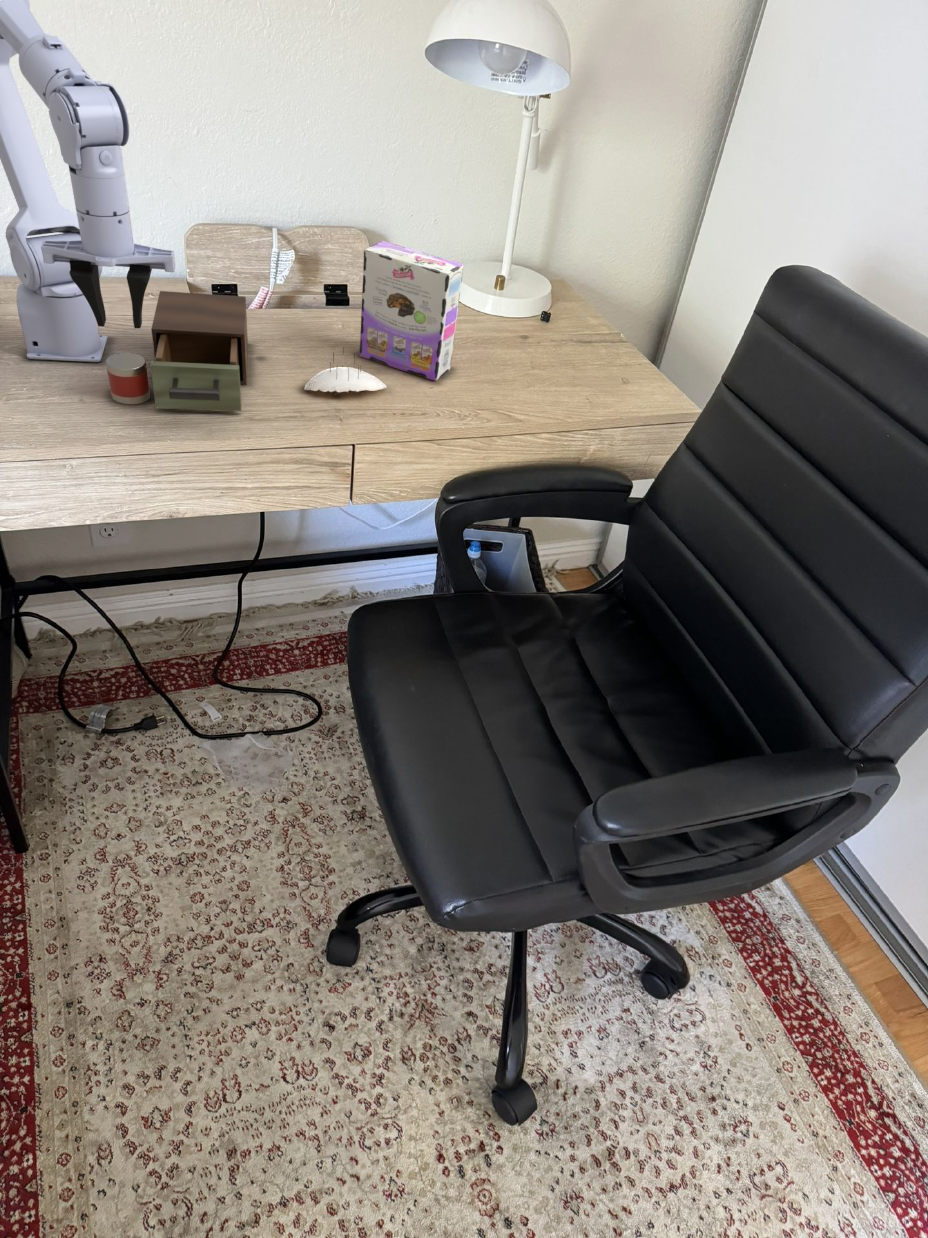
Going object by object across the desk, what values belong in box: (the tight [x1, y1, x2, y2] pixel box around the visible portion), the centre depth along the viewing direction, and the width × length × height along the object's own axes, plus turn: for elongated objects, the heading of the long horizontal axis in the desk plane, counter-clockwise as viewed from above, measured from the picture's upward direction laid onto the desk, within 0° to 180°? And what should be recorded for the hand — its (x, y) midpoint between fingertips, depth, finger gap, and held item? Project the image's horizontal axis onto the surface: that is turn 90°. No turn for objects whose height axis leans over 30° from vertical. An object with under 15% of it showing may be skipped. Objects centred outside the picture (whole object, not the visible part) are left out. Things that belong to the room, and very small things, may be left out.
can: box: [105, 352, 151, 405], centre depth 106 cm, size 5×5×5 cm
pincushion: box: [303, 347, 387, 395], centre depth 115 cm, size 12×6×6 cm, turn 106°
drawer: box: [150, 333, 242, 412], centre depth 107 cm, size 16×11×6 cm, turn 10°
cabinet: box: [151, 290, 249, 386], centre depth 115 cm, size 13×12×8 cm
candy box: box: [358, 240, 465, 382], centre depth 121 cm, size 14×6×16 cm, turn 65°
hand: (120, 323), depth 101 cm, fingers open, 4 cm apart
